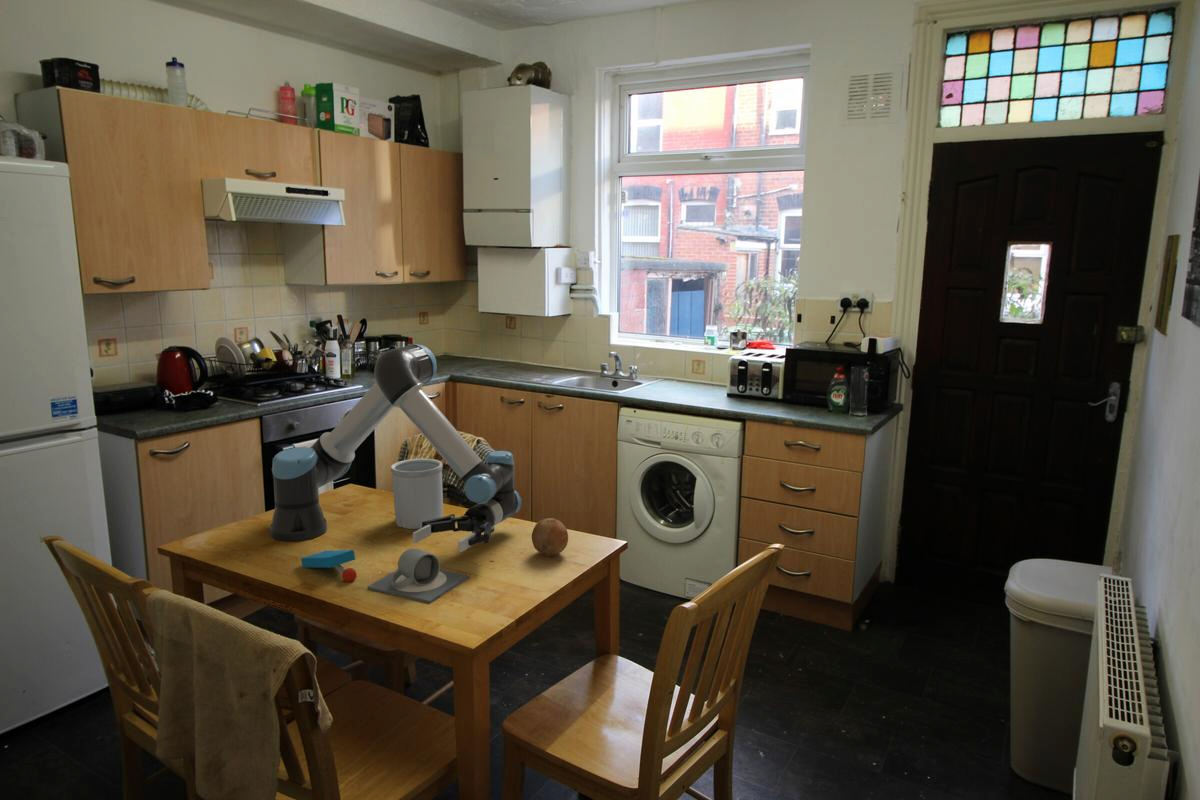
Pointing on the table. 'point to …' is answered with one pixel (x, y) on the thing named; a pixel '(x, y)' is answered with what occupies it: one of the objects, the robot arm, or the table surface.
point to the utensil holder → (417, 491)
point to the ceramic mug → (416, 568)
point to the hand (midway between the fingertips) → (436, 542)
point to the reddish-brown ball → (549, 537)
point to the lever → (332, 562)
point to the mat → (418, 592)
